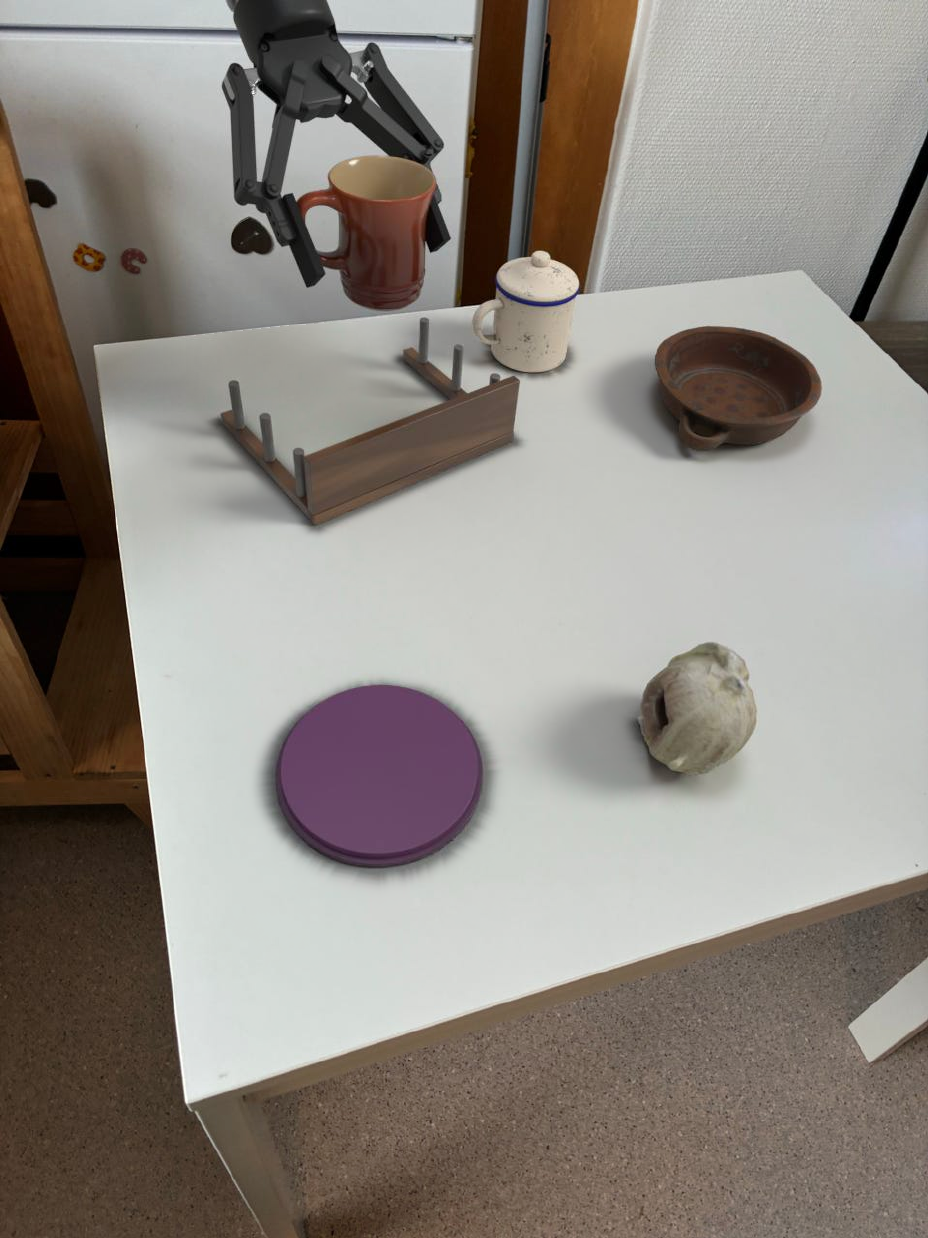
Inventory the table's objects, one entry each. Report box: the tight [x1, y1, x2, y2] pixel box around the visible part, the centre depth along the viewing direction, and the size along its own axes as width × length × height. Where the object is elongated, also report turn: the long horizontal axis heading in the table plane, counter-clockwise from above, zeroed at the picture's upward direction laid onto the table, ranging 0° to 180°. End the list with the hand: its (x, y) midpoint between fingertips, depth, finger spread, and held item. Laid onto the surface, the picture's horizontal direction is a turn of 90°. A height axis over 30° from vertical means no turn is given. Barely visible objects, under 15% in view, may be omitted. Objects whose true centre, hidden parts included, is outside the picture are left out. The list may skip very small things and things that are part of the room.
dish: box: [654, 325, 823, 452], centre depth 96 cm, size 18×22×5 cm
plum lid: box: [274, 684, 484, 868], centre depth 65 cm, size 15×15×1 cm
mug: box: [296, 154, 438, 312], centre depth 76 cm, size 12×9×10 cm
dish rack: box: [220, 317, 521, 526], centre depth 88 cm, size 18×23×7 cm
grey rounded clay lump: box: [637, 641, 758, 777], centre depth 65 cm, size 9×8×10 cm
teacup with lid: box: [471, 250, 581, 373], centre depth 98 cm, size 12×9×12 cm
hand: (380, 263), depth 76 cm, fingers closed on mug, 12 cm apart
